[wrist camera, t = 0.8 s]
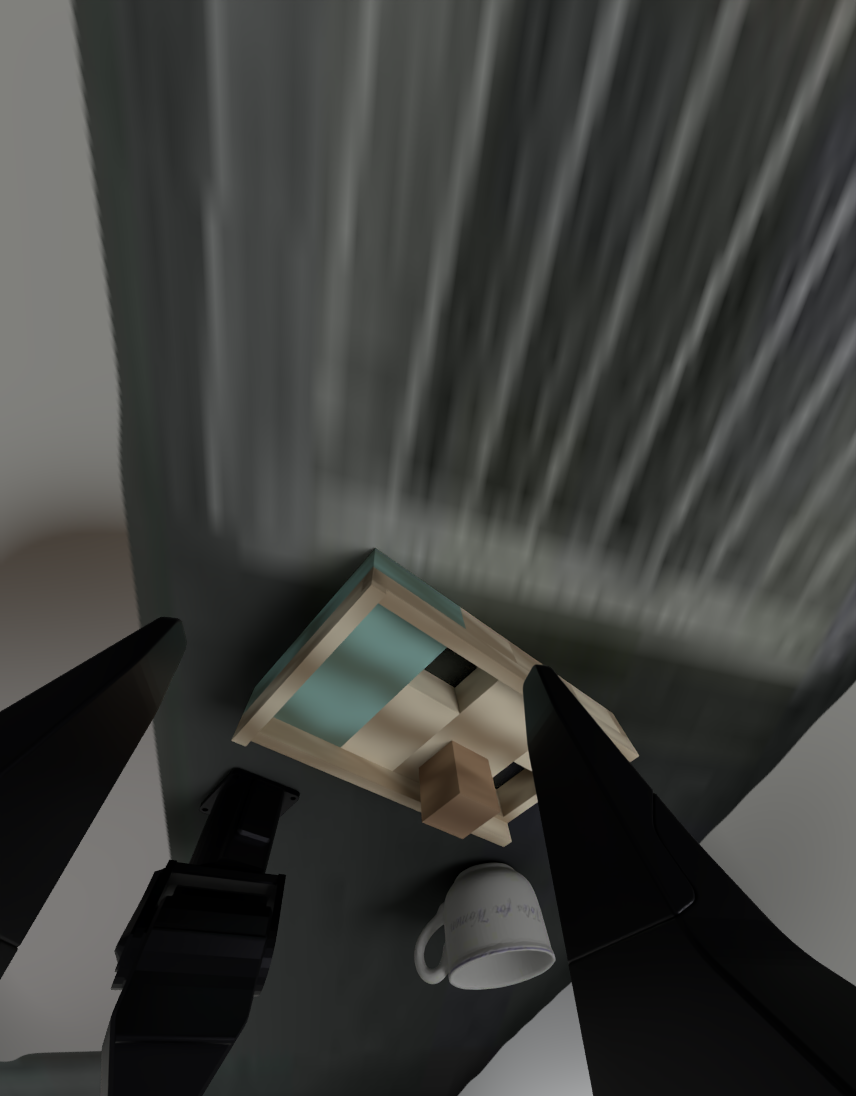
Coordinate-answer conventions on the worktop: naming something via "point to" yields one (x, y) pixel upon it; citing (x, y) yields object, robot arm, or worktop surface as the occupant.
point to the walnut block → (457, 790)
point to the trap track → (401, 693)
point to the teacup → (488, 931)
